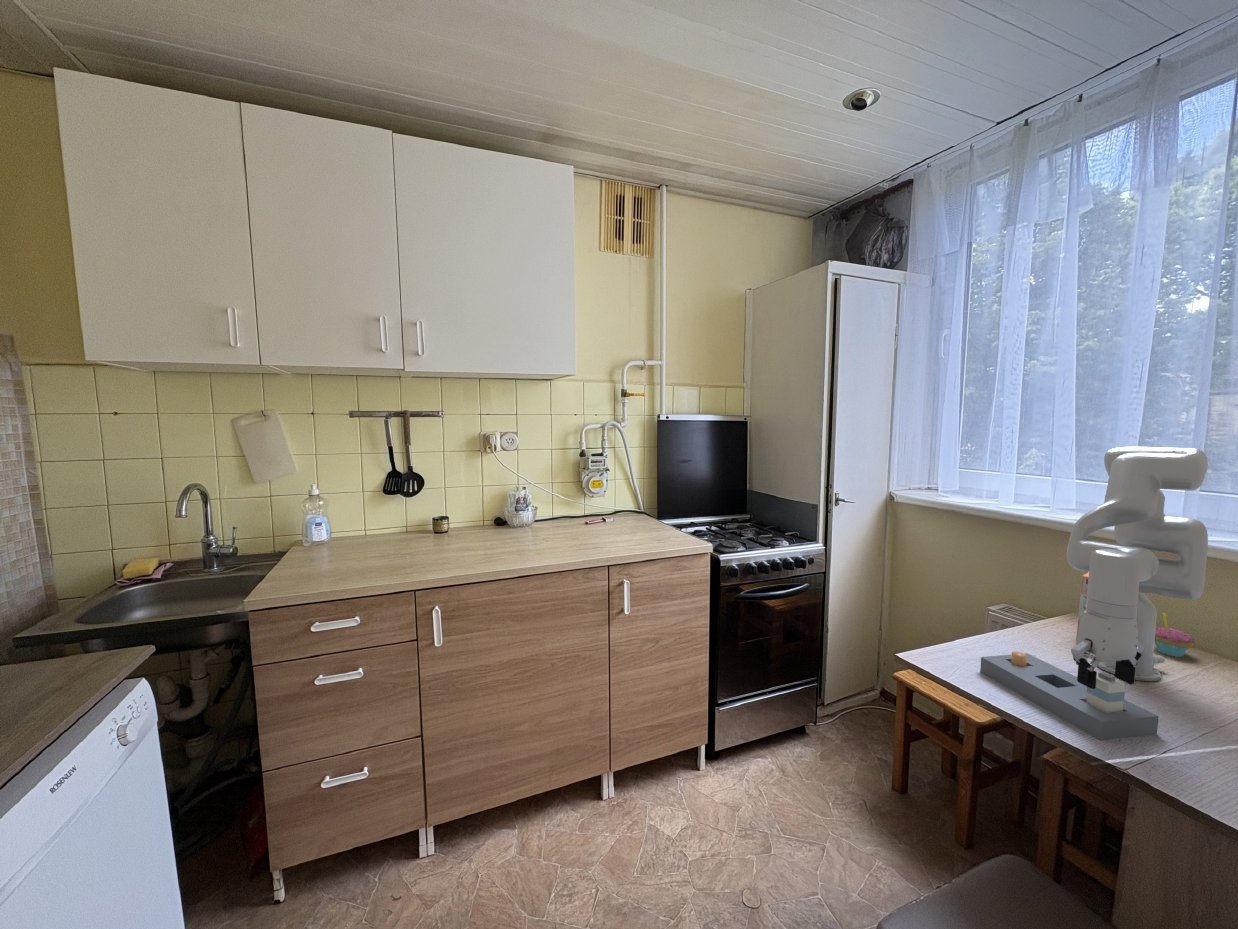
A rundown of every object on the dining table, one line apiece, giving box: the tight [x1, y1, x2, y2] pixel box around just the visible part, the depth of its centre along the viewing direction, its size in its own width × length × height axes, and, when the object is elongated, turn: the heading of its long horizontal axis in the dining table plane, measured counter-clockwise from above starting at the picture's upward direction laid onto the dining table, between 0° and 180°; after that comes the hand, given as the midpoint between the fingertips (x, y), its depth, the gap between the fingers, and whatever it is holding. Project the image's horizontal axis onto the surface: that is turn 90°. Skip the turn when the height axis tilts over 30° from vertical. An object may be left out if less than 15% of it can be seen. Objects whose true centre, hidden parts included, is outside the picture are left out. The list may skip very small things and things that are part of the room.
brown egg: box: [1011, 651, 1027, 667], centre depth 122 cm, size 3×3×6 cm
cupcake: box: [1154, 610, 1196, 658], centre depth 136 cm, size 9×8×12 cm
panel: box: [979, 652, 1160, 741], centre depth 113 cm, size 14×28×4 cm, turn 8°
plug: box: [1086, 671, 1126, 713], centre depth 104 cm, size 4×4×11 cm
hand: (1105, 683), depth 104 cm, fingers open, 9 cm apart
